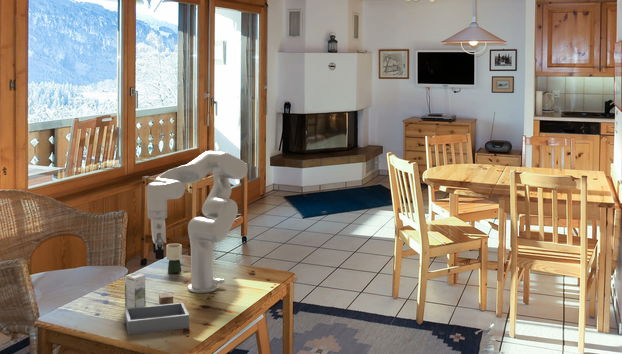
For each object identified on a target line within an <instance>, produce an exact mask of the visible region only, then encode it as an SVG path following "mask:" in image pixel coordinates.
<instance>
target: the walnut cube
mask: <svg viewBox="0 0 622 354" xmlns="http://www.w3.org/2000/svg"><path fill="white" fill-rule="evenodd" d="M164 304H174V295H173V293H172V292H163V293H158V305H164Z"/></svg>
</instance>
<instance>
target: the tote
mask: <svg viewBox="0 0 622 354" xmlns="http://www.w3.org/2000/svg"><path fill="white" fill-rule="evenodd" d="M124 322H125V326H126V330H127V334H128V336H129V335H137V334H145V333H155V332H164V331H171V330H180V329H189V328H190V314H189V312H188V309H187V308H186V306H185V304H184V302H176V303H174V302H173V304H164V305H159V304H155V305H147V306H144V307H134V308H125V307H124Z"/></svg>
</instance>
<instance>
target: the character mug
mask: <svg viewBox="0 0 622 354" xmlns="http://www.w3.org/2000/svg"><path fill="white" fill-rule="evenodd" d="M165 249H166V253H165V255H166V259H167V260H168V264H167V265H168V267H167V273H169V274H172V273H173V274H174V273H175V274H177V273H181V272H182V266H181V259H182V258H183V254H182V253H183V252H182V251H183V246H182V244H180V243H168V244H166V247H165Z"/></svg>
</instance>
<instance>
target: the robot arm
mask: <svg viewBox="0 0 622 354" xmlns="http://www.w3.org/2000/svg"><path fill="white" fill-rule="evenodd" d="M210 173H212V177H213V185H212V188H211V190H210V192H209V194H208V195H207V197H206V199H205V202H204V203H203V205H202V208H201V212H202V214H203V216H195V217H193V218H192V219H190V220H189V222H188V224H187V225H188V226H187V232H188V238H189V243H190V244H189V245H190V275H191V276H190V280H191V283H190V284H187V290H188V291H189V292H190V293H197V294H205V293H206V294H207V293H211V292H214V291H216V290H217V289H218V285H220V284H225V279H224V278H222V279H221V278H220V277H218V278H215V276H214V247H213V244H212V243H221V242H223V240H225V238H226V237H227V236H228V233H229V232H230V230H231V229H232V226H233V224H234V223H235V221H236V218H237V216H238V213H239V212H238V210H239V208H238V204H237V202H236V201H235V200H233V199H231V198H230V197H231V195H232V186H231V183H230V180H229V179H231V180H242V179H244V178H245V177H246V176H247V174H248V165H247V163H246V162H245V161H244V160H243V159H241V158H238V157H236V156H234V155H232V154H230V153H228V152H225V151H219V150H217V151H215V150H207V151H204V152H202V153H201V154H200V155H198V156H197V157H195V158H194V159H193V160H191V161H189V162H188V163H187V164H183V165H180V166H178V167H173V168H171V169H168V170H166V171H164V172H163V173H161V174H159V175H158V176H157V177H155V179H153V180H152V182H150V183H148V184H147V185H146V201H147V203H146V205H147V207H146V208H147V219H149V220H150V230H151V238H152V242H153V243H152V246H153V247H152V248H153V253H154V254H155V256H154V257H155V260H163V259H164V258H165V253H164V252H165V249H164V244H166V243H167V234H166V232H167V231H166V230H167V228H166V219H167V218H168V202H167V201H168V200H178V199H180V198H182V197H183V196H184V195H185V193H186V187H185V184H186V185H187V184H193V183H197V182H199V181H201V180H202V179H203V178H205V177H206V176H208V175H209V174H210Z"/></svg>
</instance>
